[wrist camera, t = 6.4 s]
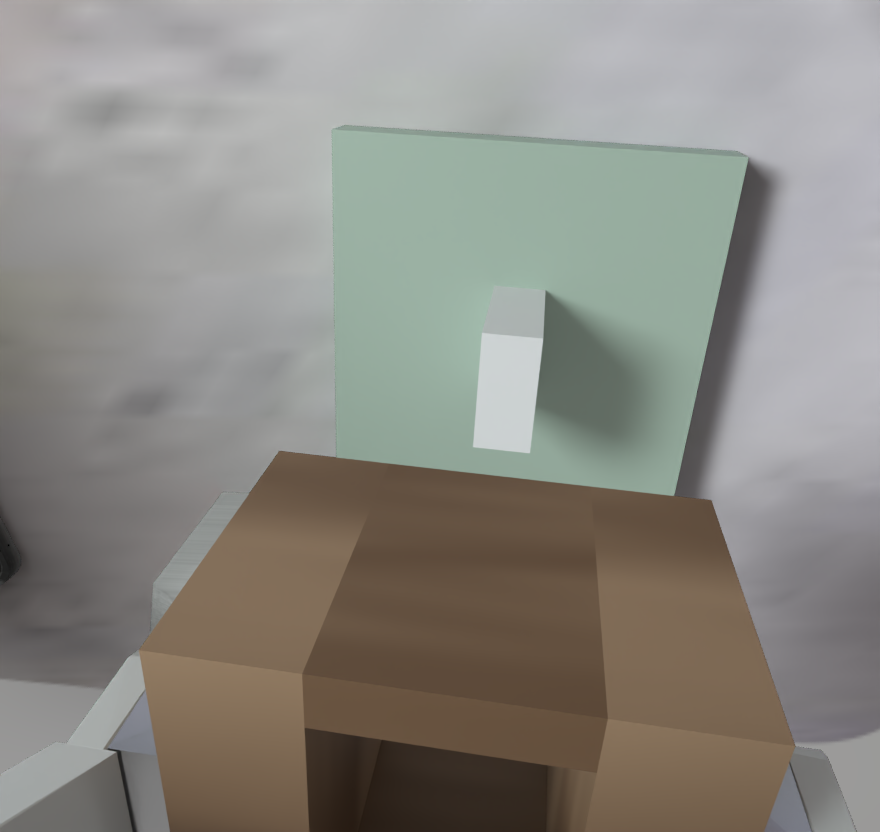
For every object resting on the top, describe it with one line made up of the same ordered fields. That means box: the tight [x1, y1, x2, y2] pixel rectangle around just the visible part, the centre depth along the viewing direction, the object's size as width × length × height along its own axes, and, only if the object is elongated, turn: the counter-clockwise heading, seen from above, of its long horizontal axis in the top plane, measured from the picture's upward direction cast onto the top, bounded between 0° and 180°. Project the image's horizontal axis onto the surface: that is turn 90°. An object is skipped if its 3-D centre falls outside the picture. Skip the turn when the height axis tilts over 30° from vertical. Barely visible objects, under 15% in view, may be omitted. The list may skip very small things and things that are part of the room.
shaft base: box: [332, 125, 749, 496], centre depth 23 cm, size 12×12×6 cm
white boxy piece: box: [150, 492, 249, 634], centre depth 27 cm, size 4×7×10 cm, turn 3°
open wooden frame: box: [139, 451, 795, 832], centre depth 10 cm, size 6×6×4 cm
